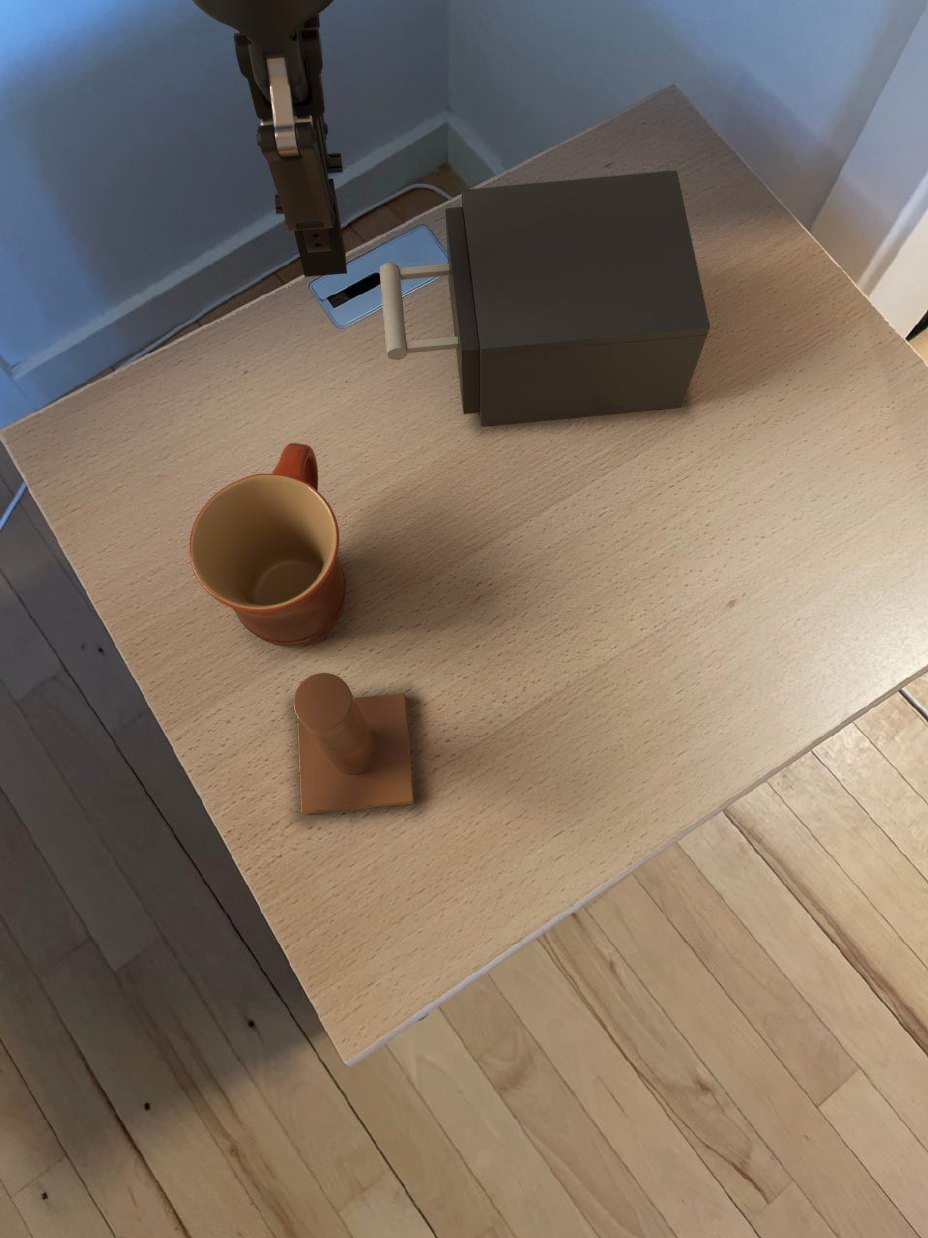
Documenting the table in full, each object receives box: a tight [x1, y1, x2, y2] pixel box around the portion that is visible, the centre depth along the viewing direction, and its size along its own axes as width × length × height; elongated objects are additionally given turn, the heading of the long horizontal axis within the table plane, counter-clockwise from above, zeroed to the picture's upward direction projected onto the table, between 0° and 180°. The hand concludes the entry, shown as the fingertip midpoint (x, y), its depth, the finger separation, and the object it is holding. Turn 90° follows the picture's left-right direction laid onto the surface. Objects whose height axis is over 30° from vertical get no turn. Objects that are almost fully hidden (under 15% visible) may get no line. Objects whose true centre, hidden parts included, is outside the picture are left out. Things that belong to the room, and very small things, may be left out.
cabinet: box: [461, 169, 711, 427], centre depth 69 cm, size 15×13×10 cm
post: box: [292, 672, 415, 815], centre depth 57 cm, size 7×7×14 cm
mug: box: [188, 442, 347, 648], centre depth 63 cm, size 12×9×10 cm
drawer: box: [379, 206, 480, 415], centre depth 69 cm, size 18×11×8 cm, turn 96°
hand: (325, 265), depth 63 cm, fingers closed
